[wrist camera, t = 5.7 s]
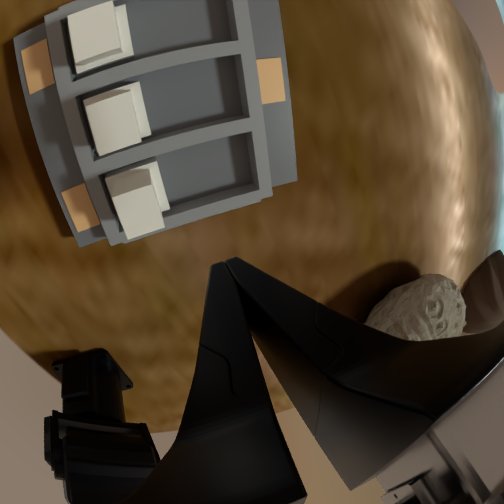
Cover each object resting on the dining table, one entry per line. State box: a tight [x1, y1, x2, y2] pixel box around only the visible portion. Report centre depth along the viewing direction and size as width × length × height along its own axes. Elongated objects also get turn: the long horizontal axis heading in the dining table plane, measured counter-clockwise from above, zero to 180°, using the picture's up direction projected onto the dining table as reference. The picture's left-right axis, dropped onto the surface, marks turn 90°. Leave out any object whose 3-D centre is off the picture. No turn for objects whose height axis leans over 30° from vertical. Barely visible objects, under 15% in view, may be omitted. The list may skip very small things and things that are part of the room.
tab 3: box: [105, 157, 170, 240], centre depth 15 cm, size 3×3×4 cm
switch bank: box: [13, 0, 297, 248], centre depth 15 cm, size 14×15×3 cm
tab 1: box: [67, 1, 134, 74], centre depth 10 cm, size 3×3×4 cm
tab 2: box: [83, 81, 151, 156], centre depth 13 cm, size 3×3×4 cm
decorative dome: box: [462, 250, 504, 333], centre depth 47 cm, size 19×20×10 cm
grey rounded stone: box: [364, 274, 467, 341], centre depth 34 cm, size 18×18×10 cm
